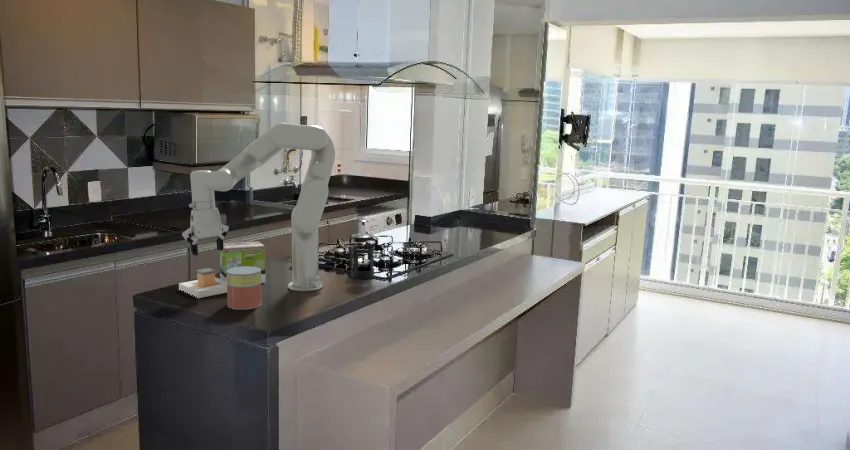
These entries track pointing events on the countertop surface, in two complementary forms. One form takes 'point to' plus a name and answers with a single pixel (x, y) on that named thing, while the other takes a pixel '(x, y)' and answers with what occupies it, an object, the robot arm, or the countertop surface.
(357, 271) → the french press
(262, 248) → the tea box
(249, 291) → the canned food
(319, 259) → the can opener
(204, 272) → the plug
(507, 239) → the countertop surface
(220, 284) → the socket plate
